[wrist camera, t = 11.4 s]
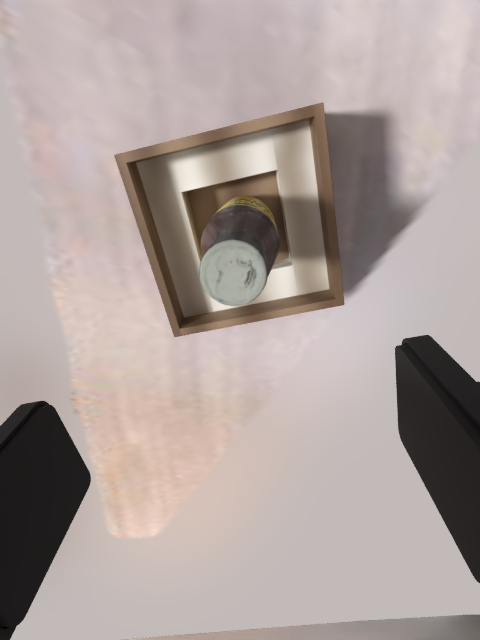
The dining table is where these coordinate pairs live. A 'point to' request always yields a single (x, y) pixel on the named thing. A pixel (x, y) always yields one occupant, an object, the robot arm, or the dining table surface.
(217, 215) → the sauce bottle
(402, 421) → the robot arm
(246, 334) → the dining table surface
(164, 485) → the dining table surface
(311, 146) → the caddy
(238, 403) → the dining table surface
